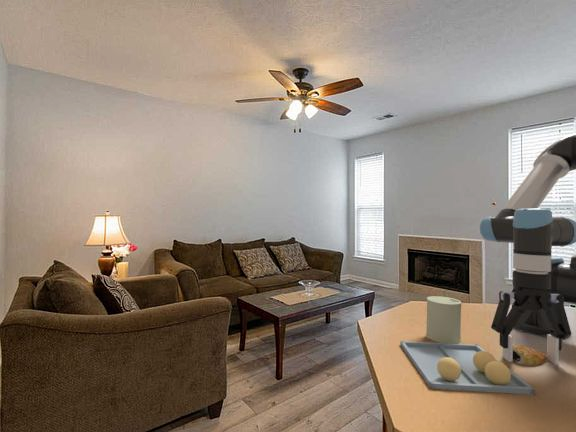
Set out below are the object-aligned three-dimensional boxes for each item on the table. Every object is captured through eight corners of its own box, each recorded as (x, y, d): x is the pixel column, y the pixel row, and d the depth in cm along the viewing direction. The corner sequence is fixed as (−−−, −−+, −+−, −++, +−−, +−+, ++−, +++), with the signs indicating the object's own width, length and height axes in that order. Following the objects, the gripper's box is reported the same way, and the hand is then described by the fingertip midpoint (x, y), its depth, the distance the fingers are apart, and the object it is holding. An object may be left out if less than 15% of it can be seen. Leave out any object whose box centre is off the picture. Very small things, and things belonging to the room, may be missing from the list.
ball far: (455, 375, 70) (455, 354, 70) (465, 386, 65) (465, 363, 65) (433, 373, 70) (433, 353, 70) (442, 384, 65) (442, 362, 65)
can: (465, 347, 86) (466, 303, 86) (429, 344, 88) (430, 301, 88) (455, 335, 95) (455, 295, 95) (422, 332, 97) (423, 293, 97)
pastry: (528, 354, 83) (529, 339, 83) (556, 366, 77) (556, 350, 77) (500, 357, 81) (500, 342, 81) (526, 370, 74) (526, 354, 74)
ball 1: (489, 367, 73) (489, 348, 73) (501, 378, 69) (501, 356, 69) (468, 366, 74) (469, 347, 74) (479, 376, 69) (479, 355, 69)
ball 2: (502, 378, 68) (502, 357, 68) (515, 390, 64) (516, 367, 64) (480, 377, 69) (480, 356, 69) (492, 389, 64) (492, 366, 64)
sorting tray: (477, 350, 84) (477, 344, 84) (534, 397, 62) (535, 389, 62) (400, 346, 86) (400, 341, 86) (430, 391, 64) (430, 383, 64)
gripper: (567, 270, 81) (566, 357, 81) (475, 267, 82) (474, 353, 82) (593, 275, 73) (592, 371, 73) (492, 272, 75) (490, 366, 75)
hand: (529, 361), depth 78 cm, fingers open, 10 cm apart
